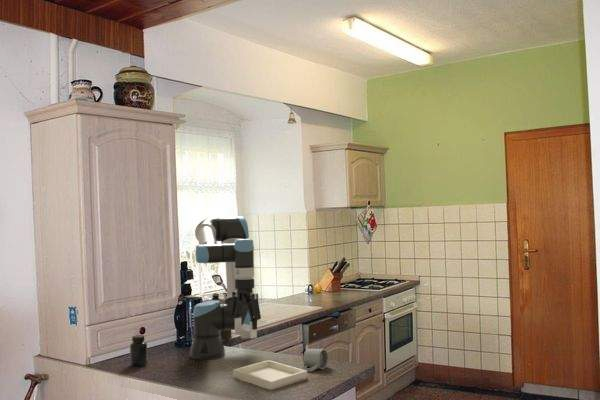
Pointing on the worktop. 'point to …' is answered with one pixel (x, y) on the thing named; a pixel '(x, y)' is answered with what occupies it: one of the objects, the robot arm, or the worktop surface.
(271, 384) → the tray
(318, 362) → the ceramic mug
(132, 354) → the supplement bottle
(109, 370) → the worktop surface
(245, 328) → the grey rough-textured block
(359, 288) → the worktop surface
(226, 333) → the wooden container
